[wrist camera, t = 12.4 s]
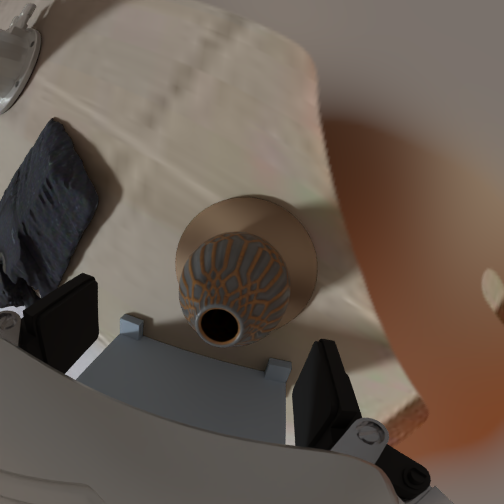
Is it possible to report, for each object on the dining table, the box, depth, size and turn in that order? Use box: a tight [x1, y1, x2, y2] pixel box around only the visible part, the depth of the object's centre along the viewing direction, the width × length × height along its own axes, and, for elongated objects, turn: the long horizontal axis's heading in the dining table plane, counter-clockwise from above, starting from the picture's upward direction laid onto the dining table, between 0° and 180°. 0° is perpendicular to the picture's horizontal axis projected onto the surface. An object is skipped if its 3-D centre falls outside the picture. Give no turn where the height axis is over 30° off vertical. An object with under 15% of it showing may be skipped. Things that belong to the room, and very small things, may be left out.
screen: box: [76, 314, 292, 445], centre depth 18 cm, size 5×16×12 cm, turn 76°
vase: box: [179, 232, 290, 348], centre depth 17 cm, size 7×7×9 cm
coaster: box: [175, 197, 317, 330], centre depth 21 cm, size 11×11×1 cm
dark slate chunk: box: [0, 118, 98, 308], centre depth 21 cm, size 15×22×5 cm
